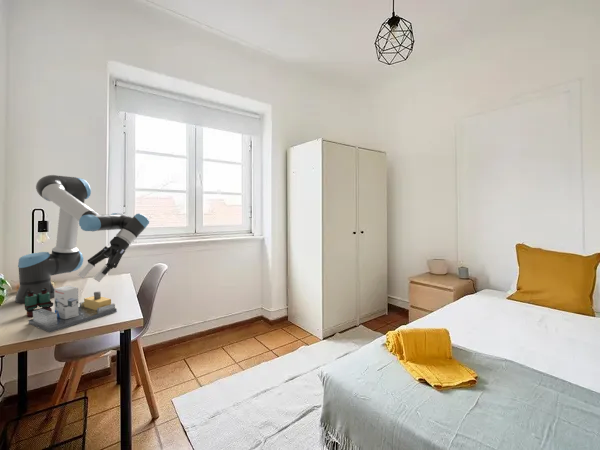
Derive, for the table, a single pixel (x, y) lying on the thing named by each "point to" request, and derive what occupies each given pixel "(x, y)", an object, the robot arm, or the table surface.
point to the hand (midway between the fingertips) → (87, 278)
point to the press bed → (52, 322)
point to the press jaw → (96, 301)
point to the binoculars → (37, 301)
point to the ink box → (66, 301)
